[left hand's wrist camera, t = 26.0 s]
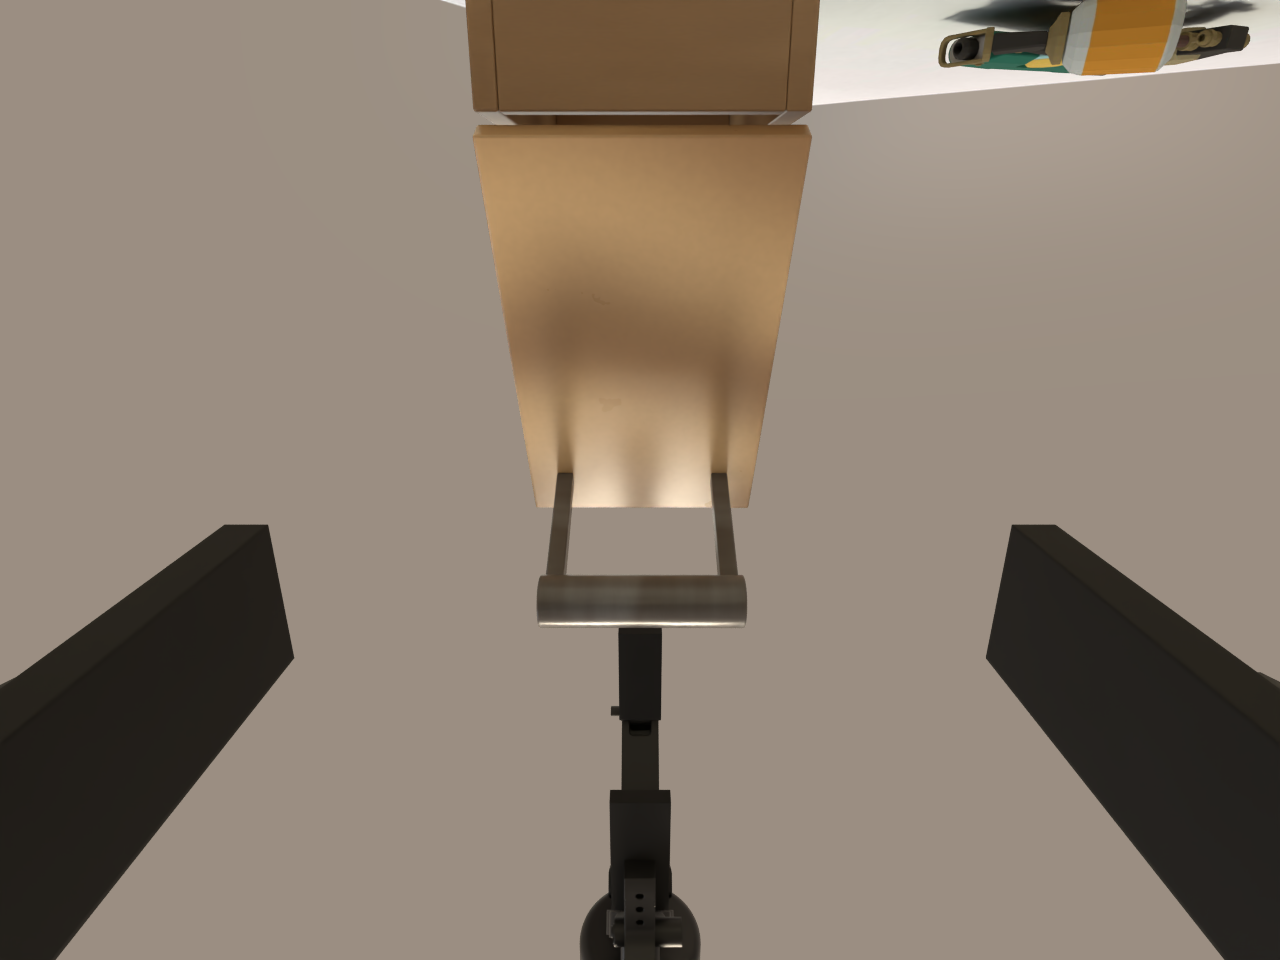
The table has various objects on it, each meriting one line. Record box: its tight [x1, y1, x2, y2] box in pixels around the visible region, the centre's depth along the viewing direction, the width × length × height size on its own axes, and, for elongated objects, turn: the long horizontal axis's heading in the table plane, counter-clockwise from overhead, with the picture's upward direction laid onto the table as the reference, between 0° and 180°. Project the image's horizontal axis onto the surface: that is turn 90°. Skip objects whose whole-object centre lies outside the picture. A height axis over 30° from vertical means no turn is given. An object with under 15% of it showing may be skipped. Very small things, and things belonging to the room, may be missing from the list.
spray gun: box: [938, 0, 1250, 76], centre depth 48 cm, size 4×17×15 cm
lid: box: [473, 125, 812, 628], centre depth 24 cm, size 17×10×8 cm
